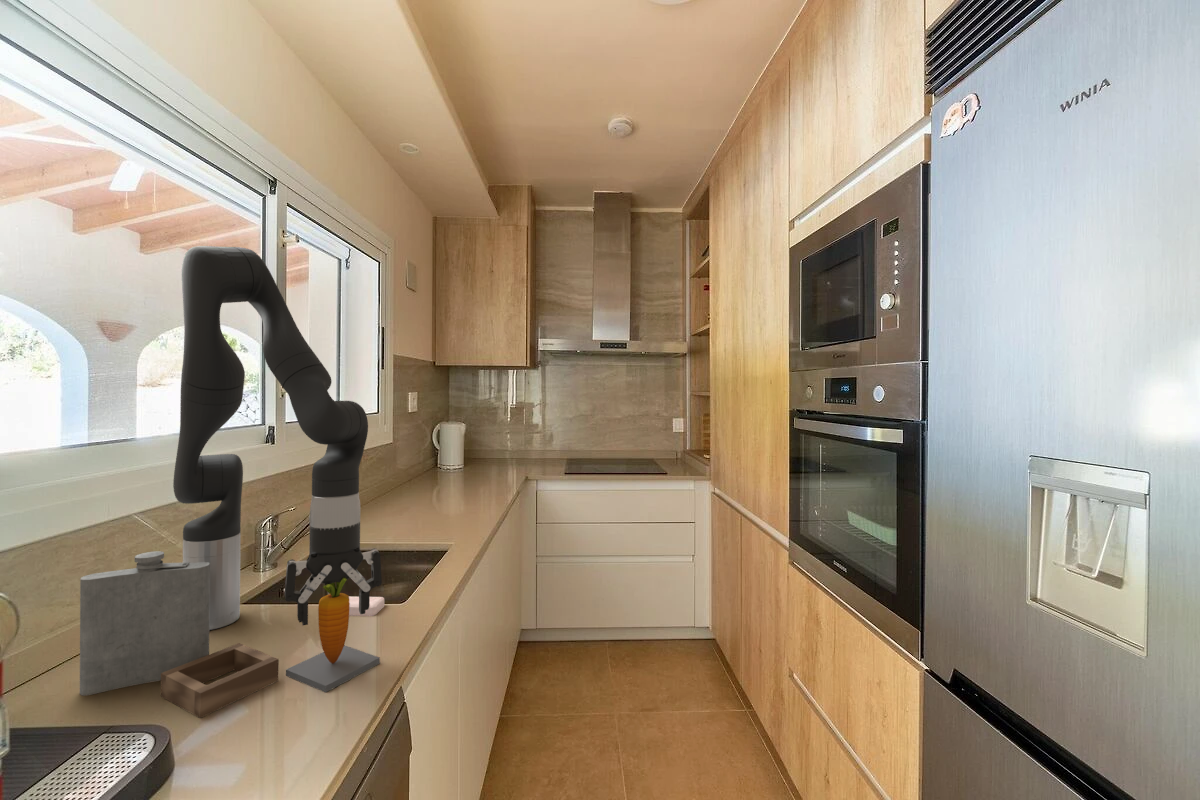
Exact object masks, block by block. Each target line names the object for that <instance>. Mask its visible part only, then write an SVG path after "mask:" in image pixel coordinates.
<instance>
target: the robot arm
mask: <svg viewBox="0 0 1200 800" xmlns="http://www.w3.org/2000/svg"><path fill="white" fill-rule="evenodd" d="M181 290H182V293H181V295H182V307H183V308H182V309H183V324H184V325H183V327H184V332H183V333H184V335H183V354H182V355H183V356H182V368H181V377H180V379H181V380H180V410H179V411H180V413H179V414H180V416H179V417H180V419H179V420H180V421H179V423H180V425H179V436H178V442H177V443H178V445H177V451H176V458H175V465H174V471H173V472H174V473H173V480H172V481H173V483H172V484H173V485H172V486H173V487H172V488H173V494H174V496H175V499H176V500H177V501H178V502H179V503H182V504H186V505H187V504H188V505H189V504H190V505H191V504H200V503H203V504H204V503H213V502H220V503H219V505H218V506H217V507H215V508H214V509H213V510H212V511H210V512H208V513H206V514H205V515H202V516H200V517H198V518H197V517H196V518H194V519H192V520H190V521H188V522H186V523H185V524H184V526H183V529H182V563H183V562H190V563H199V562H208V563H210V607H209V631H212V630H216V629H220V628H224V627H226V626H228V625H231V624H233V623H234V622H236V621H238V619H239V618H240V615H241V614H240V613H241V530H242V529H241V528H242V527H241V523H242V521H241V520H242V519H241V517H242V515H241V514H242V513H241V511H242V493H243V481H244V468H243V467H244V466H243V462H242V460H241V457H240V456H239V455H238V454H233V453H226V454H224V453H223V454H205V455H202V451H203V450H204V448H205V446H206V444H207V443H208V442H209V441H210V439H211V438H212V437H213V436H214V435H215V434H216V432H218V431H219V430H220V429H221V428H222V427H223V426H224V425H225V424H226V423H227V422H228V421H229V420H230V419H231V418H232V417H233V415H235V414H236V412H237V411H238V410H239V409H240V407H241V405H242V402H243V395H244V387H245V381H246V380H245V378H246V377H245V375H246V371H245V367H244V364H243V363H242V360H241V359H240V357H239V356H238V355H237V353H236V352H235V351H234V349H233V347H232V346H231V345H230V344H229V342H228V341H227V340H226V338H225V336H224V334H223V332H222V328H221V309H222V308H221V307H222V305H223V304H229V303H243V302H244V303H245V302H246V303H247V302H248V303H249V305H251V306H252V307H253V308H254V309H255V311H256V312H257V313H258V315H259V316H260V318H261V321H262V327H263V335H262V336H263V337H262V352H263V355H264V356H263V357H264V360H265V362H266V365H267V367H268V368H269V370H270V371H271V373H272V374H273V375H274V378H275V379H276V380H277V381H278V382H279V384H280V386H281V387H282V388H283V389H284V392H285V393H287V395H288V397H289V400H290V404H291V407H292V409H293V412H294V415H295V417H296V420H297V423H298V425H299V426H300V428H301V431H302V433H304V434H305V436H307V437H308V439H310V440H312V441H313V442H315V443H317V444H320V445H325V446H326V445H327V447H326V450H325V454H324V455H323V456H322V457H321V458H320V459H318V460H316V462H314V464H313V466H312V470H311V499H310V500H311V502H310V506H309V507H310V508H309V516H308V521H309V550H308V551H309V553H308V557H307V559H306V560H295V559H291V558H290V559H289V560H288V561H287V562H286V572H285V585H284V600H285V601H286V602H295V603H296V604H297V605H296V606H297V614H296V615H297V617H296V618H297V621H298V622H299V623H302V626H307V625H309V622H308V621H309V600H308V599H309V598H310V597H311V595H312V594H313V593H314V592H315V591H316V590H317V589H318V587H319V586H320V585H321V584H322V585H323V584H324V586H326V585H328V584H332V583H336V582H341V580H342V579H343V578H346V579H347V580H346V581H348V580H349V579H351V580H352V581H353V582H354V583H355V584H356V585H357V586H358V587H359V589H358V590H359V591H358V597H359V612H360V614H365V610H368V609H369V600H370V597H371V596H370V592H371V590H372V589H373V588H375V587H380V586H381V585H382V583H383V582H382V578H383V577H382V565H381V563H382V562H381V561H382V560H381V553H380V552H379V550H378V549H377V548H372V549H371V550H370V551H365V552H362V550H361V500H360V466H361V465H360V464H361V462H362V458H363V455H364V451H365V447H366V442H367V438H368V433H369V432H368V431H369V421H368V416H367V413H366V411H365V410H364V408H363V407H362V405H360V403H358V402H356V401H353V400H334V399H333V397H331V395H330V393H329V391H328V390H329V389H330V388H331V386H332V381H333V380H332V377H331V374H330V373H329V371H328V370H327V368H326V367H325V365H324V364H323V363H322V362H321V360H320V359H319V358H318V356H317V355H316V354H315V352H314V351H313V349H312V348H311V347H310V345H309V344H308V342H307V341H306V339H305V338H304V335H302V333H301V331H300V329H299V328H298V326H297V324H296V322H295V320H294V318H293V316H292V313H291V311H290V309H289V307H288V305H287V303H286V301H285V299H284V297H283V295H282V292H281V291H280V289H279V287H278V285H277V283H276V281H275V278H273V275H272V274H271V271H270V269H269V268H268V266H267V265H266V263H265V261H264V260H263V259H262V257H261V256H260V255H259V254H258V253H257V252H255V251H254V250H252V249H249V248H245V247H239V246H212V245H198V246H193V247H190V248H189V249H188V250H187V251H186V253H185V255H184V257H183V260H182V263H181ZM364 560H365V561H366V563H367V564H368V565H370V570H371V571H370V572H371V578H369V579H366V578H365V577H364V576H363V575H362V573H360V572H359V571H358V567H359V566H360V565H361V564H362V562H363V561H364ZM304 569H307V571H309V573H310V574H311V575H310V576H309V577H308V579H307V580H306V582H305V584H304V585H303V586H302V588H301V589H300V590H296V577H297V576H300V575H301V574H302V571H303V570H304Z"/></svg>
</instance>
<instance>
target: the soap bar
mask: <svg viewBox="0 0 1200 800" xmlns="http://www.w3.org/2000/svg"><path fill="white" fill-rule="evenodd" d="M348 596H349V595H348ZM349 603H350V606H349V616H353V617H355V616H361V617H369V616H370V617H373V616H376V615H377V614H378V613H379V612H380V611H381V610H382V609H383V608H384V607H385V597H383V596H370V600H369V609H368V610H365V614H360V612H359V596H349Z"/></svg>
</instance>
